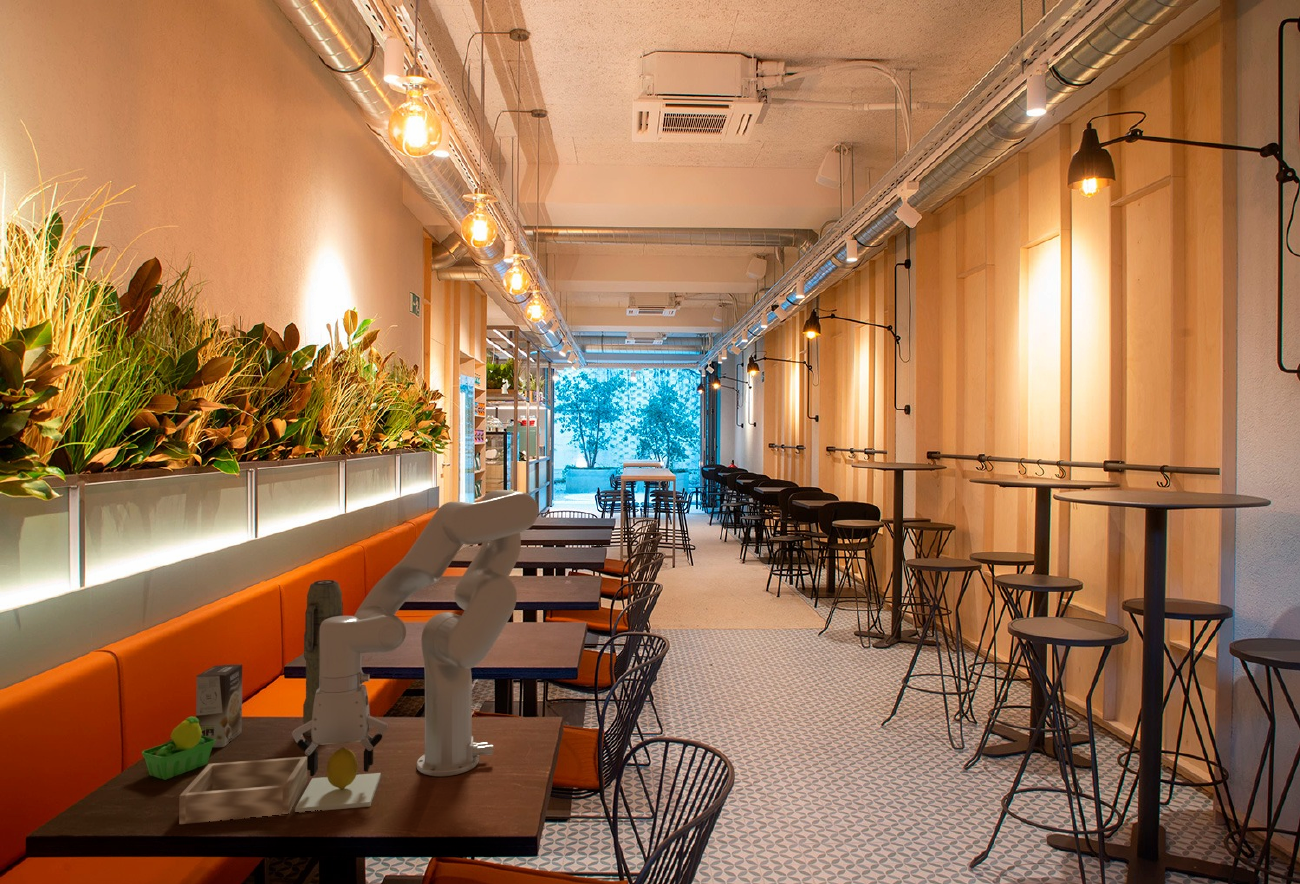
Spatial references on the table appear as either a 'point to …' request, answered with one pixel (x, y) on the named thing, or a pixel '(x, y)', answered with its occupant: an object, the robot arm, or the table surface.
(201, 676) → the coffee box
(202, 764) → the fruit basket
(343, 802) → the board
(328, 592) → the thermos
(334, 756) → the lemon
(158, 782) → the table surface
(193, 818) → the brown wooden tray
